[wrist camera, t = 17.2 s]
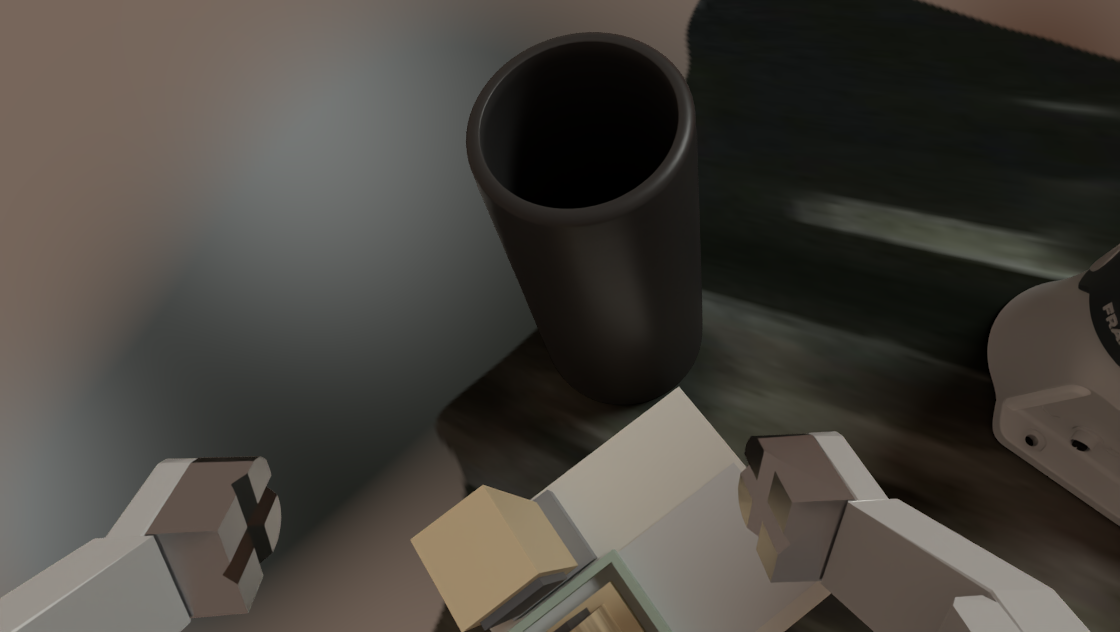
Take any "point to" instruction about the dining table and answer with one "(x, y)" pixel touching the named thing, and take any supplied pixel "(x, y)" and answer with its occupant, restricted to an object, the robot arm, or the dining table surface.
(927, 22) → the dining table surface
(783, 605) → the grey boxy piece
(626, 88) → the vase
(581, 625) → the block
